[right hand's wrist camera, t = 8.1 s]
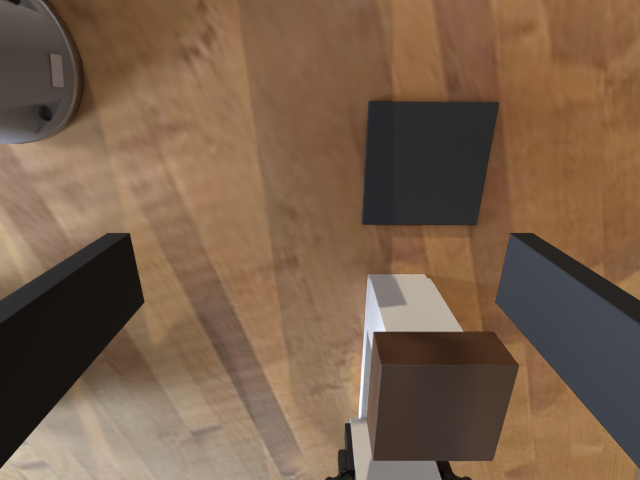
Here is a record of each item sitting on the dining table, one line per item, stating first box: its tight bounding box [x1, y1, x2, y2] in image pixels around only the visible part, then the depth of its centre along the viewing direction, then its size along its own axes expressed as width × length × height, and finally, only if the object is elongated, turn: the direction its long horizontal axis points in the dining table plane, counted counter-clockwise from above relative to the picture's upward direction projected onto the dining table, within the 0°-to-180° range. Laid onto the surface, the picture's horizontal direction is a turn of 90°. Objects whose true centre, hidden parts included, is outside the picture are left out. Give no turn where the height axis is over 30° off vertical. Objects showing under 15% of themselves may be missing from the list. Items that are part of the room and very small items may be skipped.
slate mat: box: [362, 102, 499, 225], centre depth 38 cm, size 13×13×1 cm
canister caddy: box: [350, 274, 463, 480], centre depth 41 cm, size 26×10×14 cm, turn 0°
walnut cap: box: [367, 332, 519, 461], centre depth 29 cm, size 10×10×4 cm
